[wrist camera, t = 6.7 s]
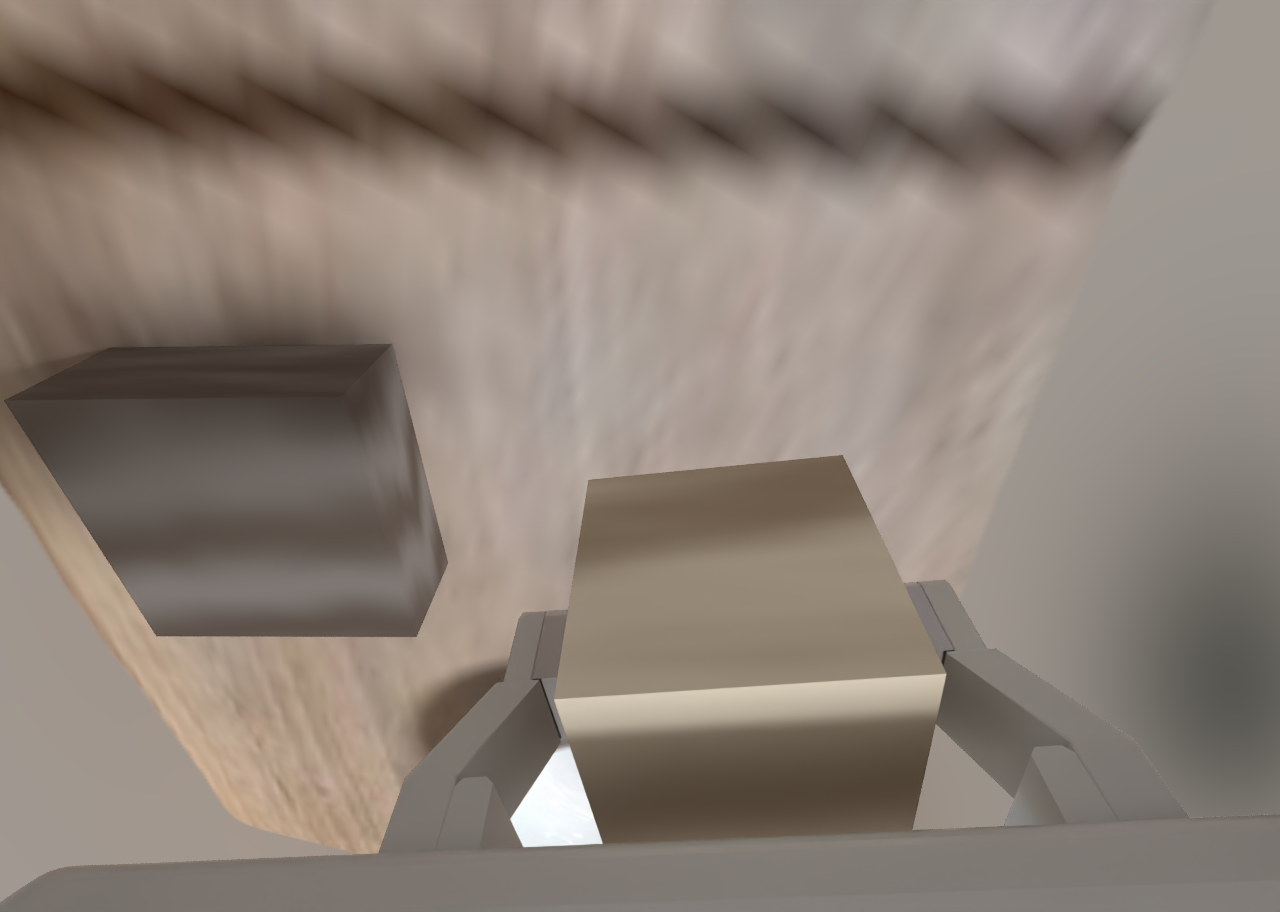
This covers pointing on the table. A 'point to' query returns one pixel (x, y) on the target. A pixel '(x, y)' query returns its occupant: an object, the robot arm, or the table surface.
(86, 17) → the table surface
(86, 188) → the table surface
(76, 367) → the charcoal riser block
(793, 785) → the birch cube
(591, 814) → the serving bowl
